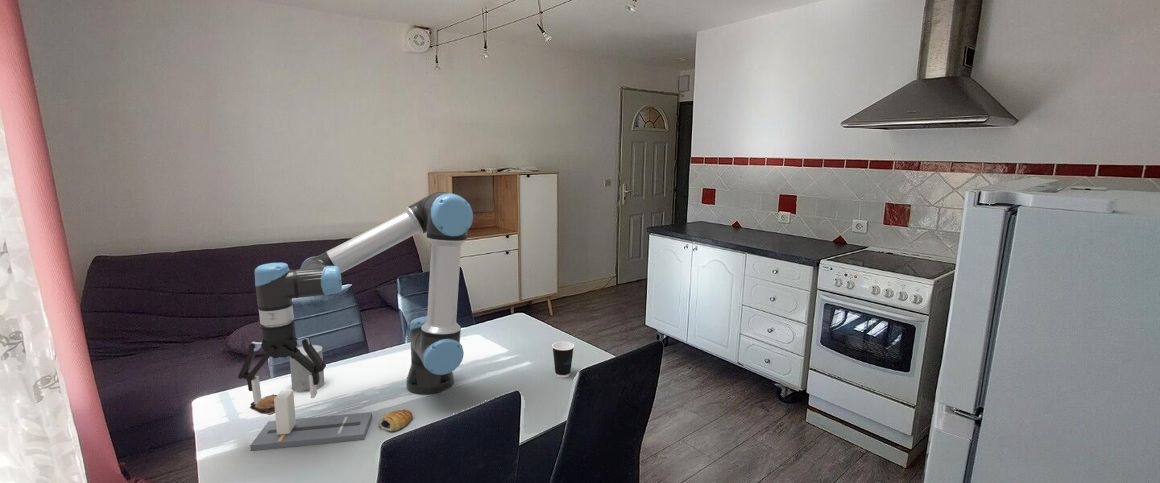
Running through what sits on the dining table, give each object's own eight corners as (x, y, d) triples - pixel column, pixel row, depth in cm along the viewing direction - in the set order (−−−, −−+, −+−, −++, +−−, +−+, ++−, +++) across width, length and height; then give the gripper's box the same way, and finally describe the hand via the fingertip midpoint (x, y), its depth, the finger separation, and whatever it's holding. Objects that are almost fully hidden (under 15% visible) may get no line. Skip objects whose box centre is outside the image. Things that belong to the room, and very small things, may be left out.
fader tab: (295, 423, 135) (293, 389, 133) (289, 433, 130) (286, 398, 128) (283, 424, 134) (280, 390, 133) (277, 434, 129) (273, 399, 128)
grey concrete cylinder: (310, 393, 156) (307, 357, 154) (284, 390, 158) (281, 354, 156) (331, 381, 165) (329, 346, 163) (306, 378, 167) (304, 343, 165)
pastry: (401, 413, 145) (401, 401, 145) (419, 419, 142) (418, 407, 142) (376, 428, 137) (375, 415, 136) (393, 435, 134) (393, 422, 133)
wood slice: (295, 405, 149) (294, 394, 149) (267, 418, 142) (266, 406, 141) (273, 397, 154) (273, 386, 154) (245, 409, 147) (244, 397, 146)
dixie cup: (554, 369, 178) (555, 340, 176) (576, 371, 176) (576, 342, 175) (548, 378, 170) (549, 348, 169) (571, 380, 169) (571, 350, 167)
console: (372, 416, 143) (371, 411, 142) (363, 439, 131) (363, 433, 131) (268, 426, 137) (268, 420, 136) (250, 450, 125) (250, 445, 125)
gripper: (215, 331, 121) (226, 411, 125) (325, 323, 126) (333, 400, 130) (230, 321, 128) (240, 397, 132) (333, 314, 134) (340, 387, 137)
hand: (286, 398), depth 131 cm, fingers open, 13 cm apart
